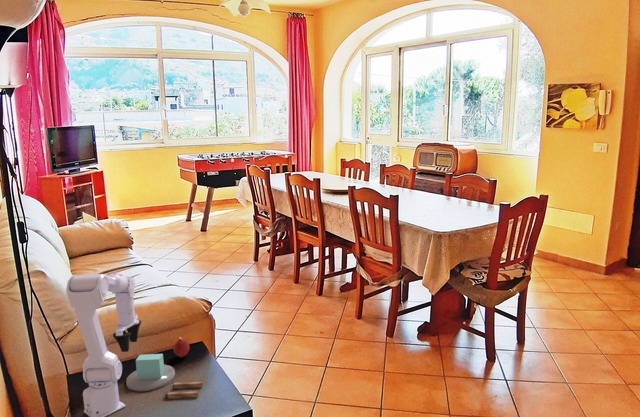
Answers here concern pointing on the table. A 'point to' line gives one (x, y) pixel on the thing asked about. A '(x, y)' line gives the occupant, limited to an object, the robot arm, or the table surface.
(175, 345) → the onion
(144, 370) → the tall mint rectangular block
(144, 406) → the table surface
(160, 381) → the plate
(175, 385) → the brown wooden frame
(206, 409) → the table surface
